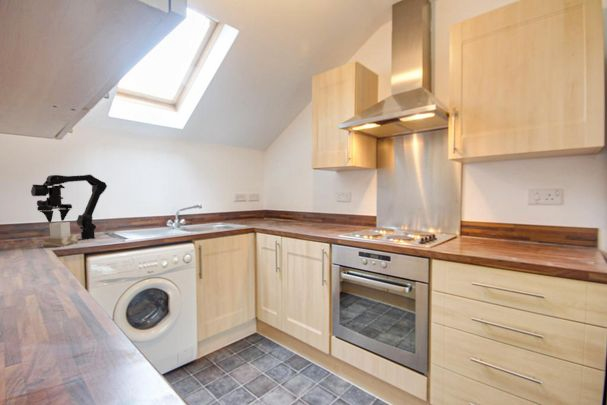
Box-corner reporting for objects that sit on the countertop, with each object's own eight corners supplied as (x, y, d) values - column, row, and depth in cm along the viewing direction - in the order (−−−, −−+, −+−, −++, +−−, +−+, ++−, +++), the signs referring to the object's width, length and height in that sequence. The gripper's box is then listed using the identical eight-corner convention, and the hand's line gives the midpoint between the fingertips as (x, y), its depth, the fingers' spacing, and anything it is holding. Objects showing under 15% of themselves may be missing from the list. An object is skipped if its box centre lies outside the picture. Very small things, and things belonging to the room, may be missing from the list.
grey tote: (59, 242, 174) (58, 222, 173) (70, 242, 174) (69, 222, 173) (50, 244, 167) (49, 223, 167) (61, 244, 168) (60, 223, 167)
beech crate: (59, 243, 176) (59, 235, 176) (77, 242, 176) (77, 235, 176) (43, 246, 165) (42, 238, 165) (62, 246, 165) (62, 238, 165)
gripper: (54, 195, 186) (55, 219, 187) (27, 196, 167) (28, 223, 168) (72, 195, 186) (73, 219, 187) (46, 196, 167) (48, 223, 168)
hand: (56, 221), depth 177 cm, fingers open, 9 cm apart
